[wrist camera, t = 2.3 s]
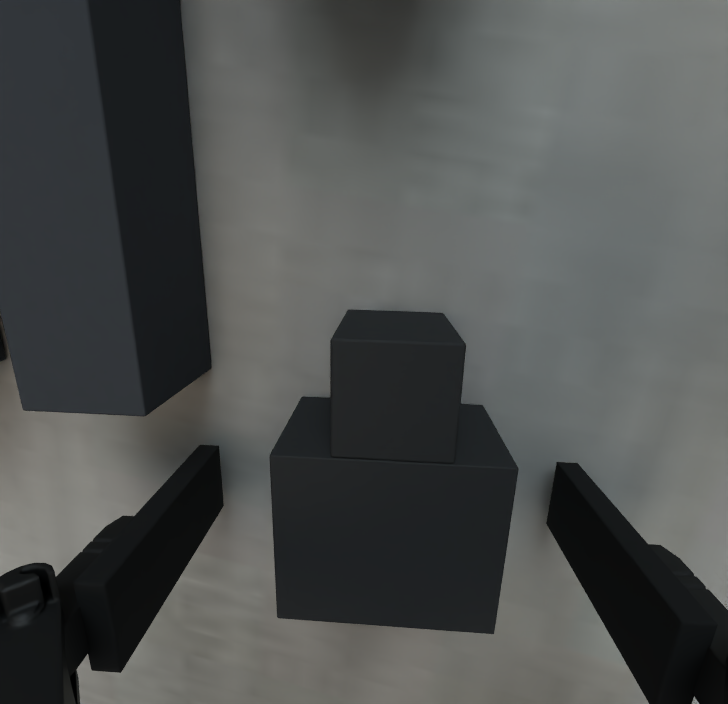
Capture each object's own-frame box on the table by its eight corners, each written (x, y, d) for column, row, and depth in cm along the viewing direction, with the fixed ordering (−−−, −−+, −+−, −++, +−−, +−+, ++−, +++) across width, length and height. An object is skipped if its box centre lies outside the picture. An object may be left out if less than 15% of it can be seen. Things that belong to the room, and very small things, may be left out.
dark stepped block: (493, 314, 14) (537, 346, 10) (467, 535, 17) (494, 634, 13) (299, 307, 15) (263, 335, 10) (304, 525, 17) (276, 618, 13)
